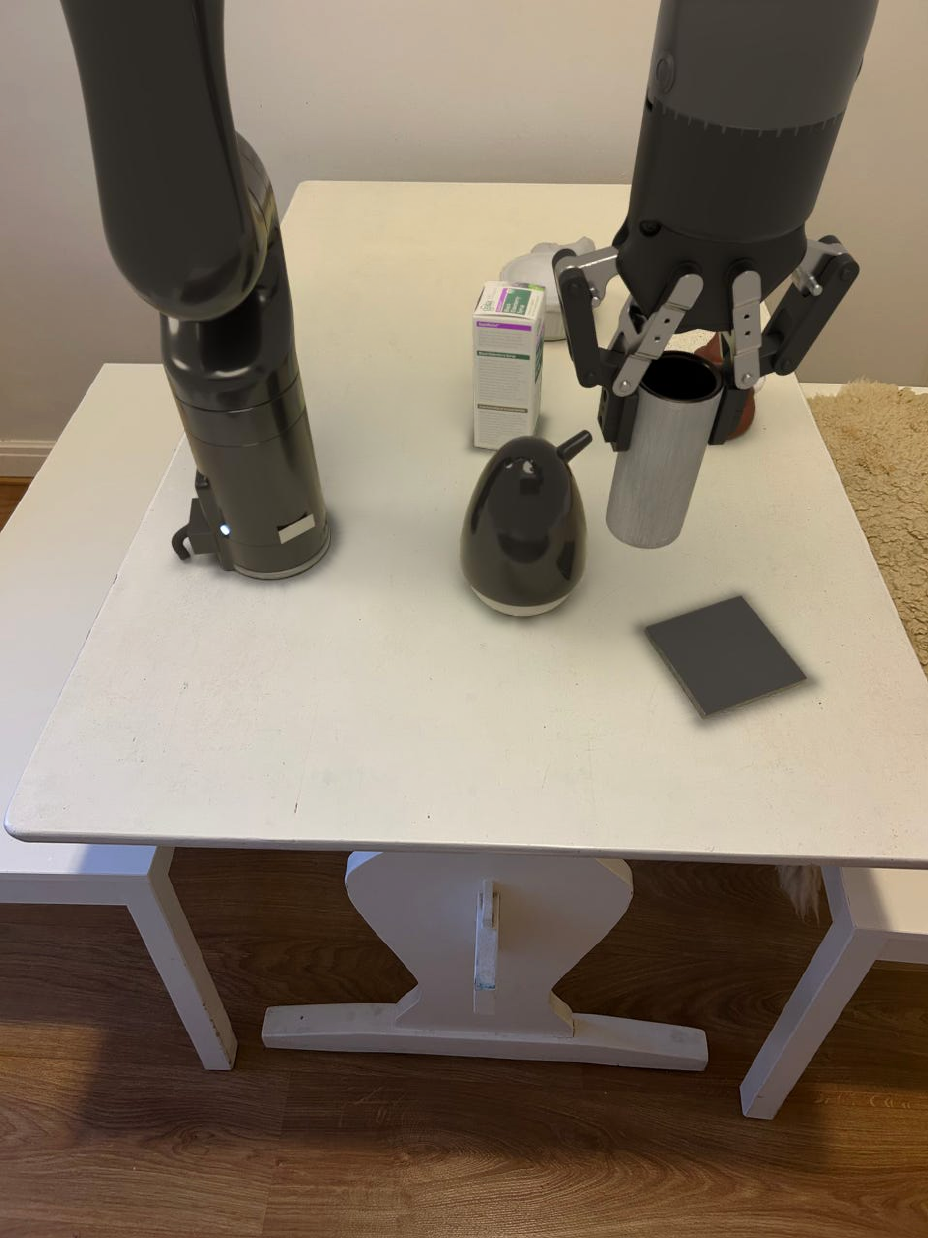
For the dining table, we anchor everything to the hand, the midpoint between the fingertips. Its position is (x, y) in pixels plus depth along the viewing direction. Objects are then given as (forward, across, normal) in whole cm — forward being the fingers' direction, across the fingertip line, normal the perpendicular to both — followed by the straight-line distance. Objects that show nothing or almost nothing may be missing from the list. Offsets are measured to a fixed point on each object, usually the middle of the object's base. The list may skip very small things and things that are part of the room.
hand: (663, 437), depth 45 cm
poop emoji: (+24, -18, -32) cm, 44 cm away
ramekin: (+24, -4, -51) cm, 57 cm away
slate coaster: (+24, -10, -2) cm, 26 cm away
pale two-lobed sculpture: (+24, -8, -61) cm, 66 cm away
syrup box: (+24, +3, -31) cm, 40 cm away
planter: (+7, 0, 0) cm, 7 cm away
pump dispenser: (+24, +5, -11) cm, 27 cm away
